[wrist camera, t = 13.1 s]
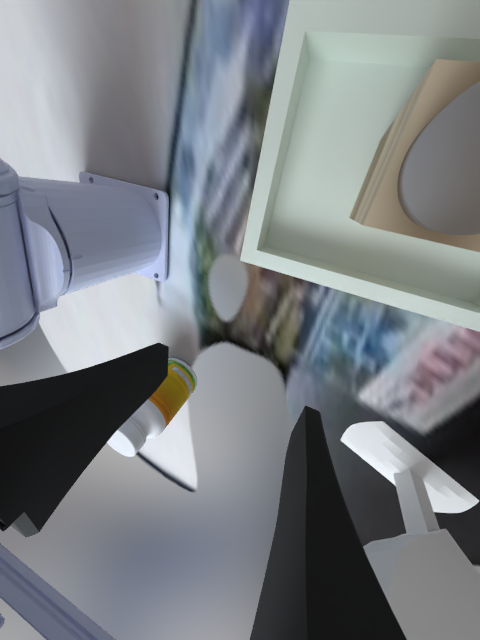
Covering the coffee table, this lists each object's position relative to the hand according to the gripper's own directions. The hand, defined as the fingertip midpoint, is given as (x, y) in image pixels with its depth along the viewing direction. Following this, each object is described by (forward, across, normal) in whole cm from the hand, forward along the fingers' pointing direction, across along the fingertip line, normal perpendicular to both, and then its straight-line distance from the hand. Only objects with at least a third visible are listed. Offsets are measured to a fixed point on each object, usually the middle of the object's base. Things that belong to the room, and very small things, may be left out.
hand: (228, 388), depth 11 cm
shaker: (+10, -5, -10) cm, 15 cm away
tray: (+10, -5, -10) cm, 15 cm away
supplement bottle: (+11, +9, +13) cm, 19 cm away
